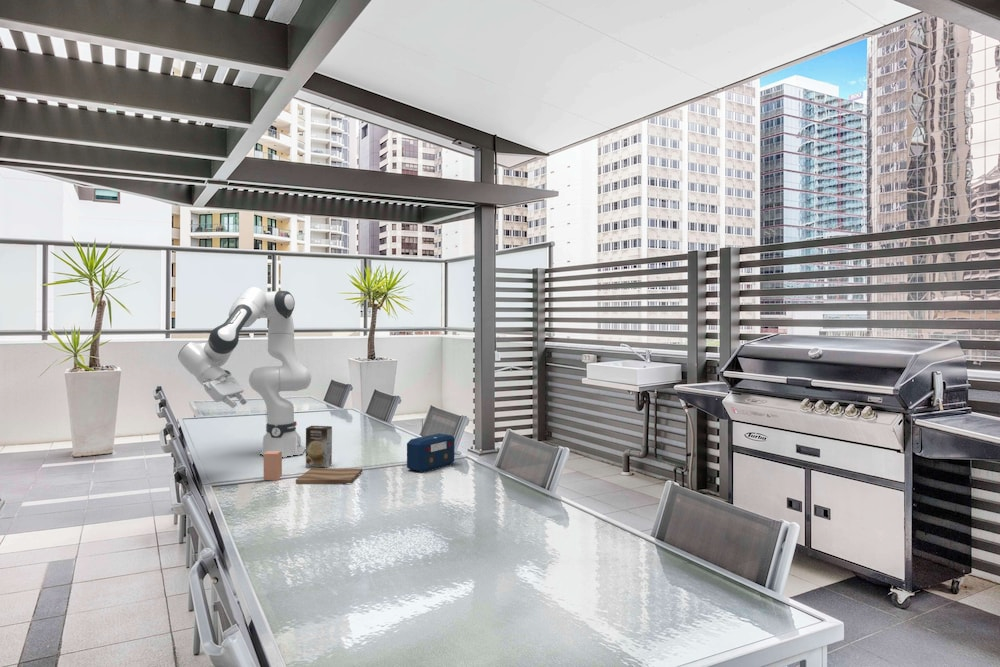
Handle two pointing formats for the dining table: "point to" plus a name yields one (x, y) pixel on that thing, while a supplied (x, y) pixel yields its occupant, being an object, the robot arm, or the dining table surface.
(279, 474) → the terracotta block
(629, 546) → the dining table surface
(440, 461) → the radio
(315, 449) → the coffee box
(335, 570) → the dining table surface
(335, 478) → the walnut board
